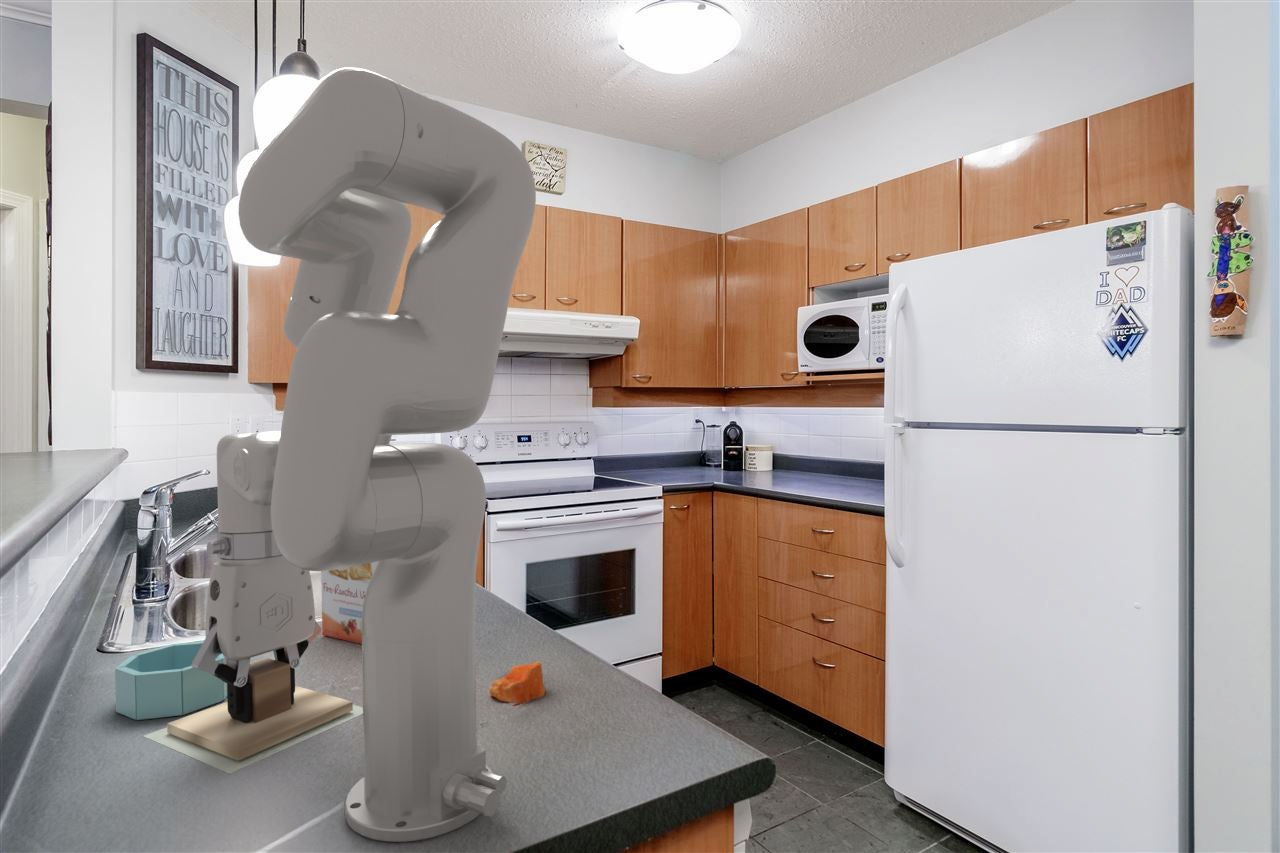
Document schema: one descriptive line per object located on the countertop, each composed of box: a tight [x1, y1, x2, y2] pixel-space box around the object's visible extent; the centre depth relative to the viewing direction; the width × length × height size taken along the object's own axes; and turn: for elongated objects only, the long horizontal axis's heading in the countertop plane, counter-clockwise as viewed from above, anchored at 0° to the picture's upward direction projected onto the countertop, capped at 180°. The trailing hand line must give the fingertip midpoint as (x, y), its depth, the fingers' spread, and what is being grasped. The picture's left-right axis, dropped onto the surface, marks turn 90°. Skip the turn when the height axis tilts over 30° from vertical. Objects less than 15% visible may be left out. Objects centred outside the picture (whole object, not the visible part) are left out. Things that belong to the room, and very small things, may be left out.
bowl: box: [114, 640, 227, 721], centre depth 83 cm, size 11×11×6 cm
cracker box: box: [320, 561, 379, 645], centre depth 106 cm, size 14×6×21 cm, turn 62°
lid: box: [166, 658, 354, 761], centre depth 76 cm, size 13×13×6 cm
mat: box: [142, 704, 363, 775], centre depth 76 cm, size 16×16×1 cm
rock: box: [489, 661, 546, 707], centre depth 84 cm, size 12×12×4 cm
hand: (262, 709), depth 76 cm, fingers closed on lid, 4 cm apart
